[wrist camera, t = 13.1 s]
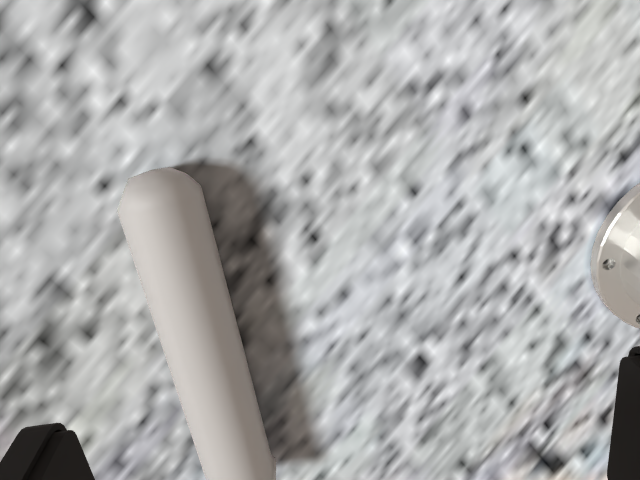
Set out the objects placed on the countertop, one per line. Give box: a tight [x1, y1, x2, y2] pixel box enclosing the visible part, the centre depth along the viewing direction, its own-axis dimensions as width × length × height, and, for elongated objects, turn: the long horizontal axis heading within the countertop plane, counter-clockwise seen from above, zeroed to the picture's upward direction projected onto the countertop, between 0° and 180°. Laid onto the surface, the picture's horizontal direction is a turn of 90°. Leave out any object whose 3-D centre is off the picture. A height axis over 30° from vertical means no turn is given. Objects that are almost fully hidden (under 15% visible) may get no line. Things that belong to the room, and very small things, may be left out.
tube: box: [117, 167, 276, 480], centre depth 37 cm, size 5×5×25 cm
